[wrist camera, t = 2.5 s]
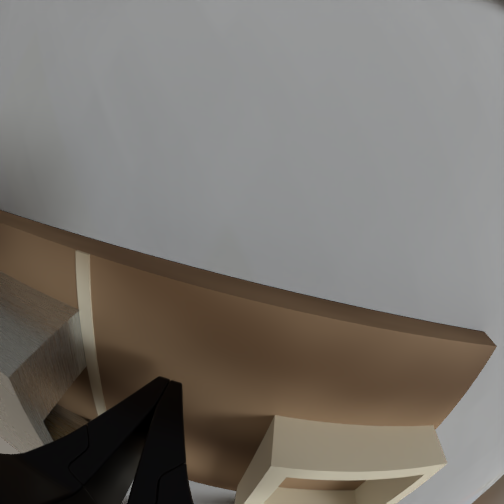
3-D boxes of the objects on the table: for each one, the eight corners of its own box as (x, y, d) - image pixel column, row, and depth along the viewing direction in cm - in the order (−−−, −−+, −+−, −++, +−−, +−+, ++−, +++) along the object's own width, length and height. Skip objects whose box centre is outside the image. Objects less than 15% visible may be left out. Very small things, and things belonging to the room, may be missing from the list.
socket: (359, 494, 13) (362, 523, 10) (237, 485, 13) (231, 519, 11) (433, 425, 10) (447, 463, 8) (274, 415, 10) (270, 465, 8)
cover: (103, 433, 13) (73, 487, 8) (15, 381, 13) (-19, 419, 9) (80, 309, 10) (8, 377, 5) (-19, 260, 10) (-77, 293, 6)
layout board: (356, 485, 14) (358, 500, 13) (-27, 347, 15) (-35, 354, 14) (484, 331, 9) (497, 347, 8) (-58, 189, 10) (-71, 193, 9)
